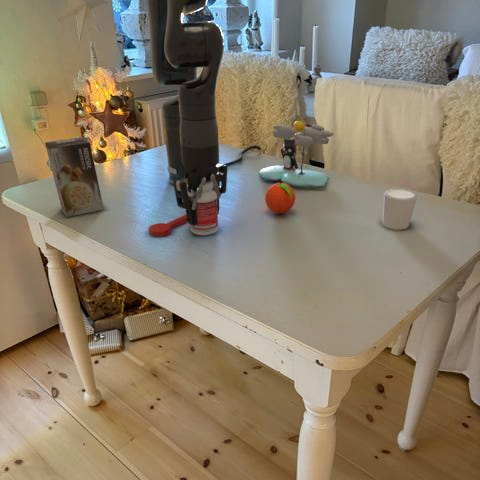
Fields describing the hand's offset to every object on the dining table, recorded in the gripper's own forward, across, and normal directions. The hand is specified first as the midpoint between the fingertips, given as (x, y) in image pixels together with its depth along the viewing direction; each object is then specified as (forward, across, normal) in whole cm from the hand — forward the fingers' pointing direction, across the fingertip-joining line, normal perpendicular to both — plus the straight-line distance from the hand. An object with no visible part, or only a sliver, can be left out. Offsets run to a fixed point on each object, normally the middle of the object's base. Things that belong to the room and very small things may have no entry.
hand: (203, 219), depth 106 cm
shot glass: (+2, +28, -32) cm, 42 cm away
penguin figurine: (+3, +38, +2) cm, 38 cm away
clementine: (+3, +18, -8) cm, 20 cm away
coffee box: (+4, -9, +32) cm, 34 cm away
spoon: (+3, -1, +7) cm, 8 cm away
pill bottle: (+3, 0, 0) cm, 3 cm away
